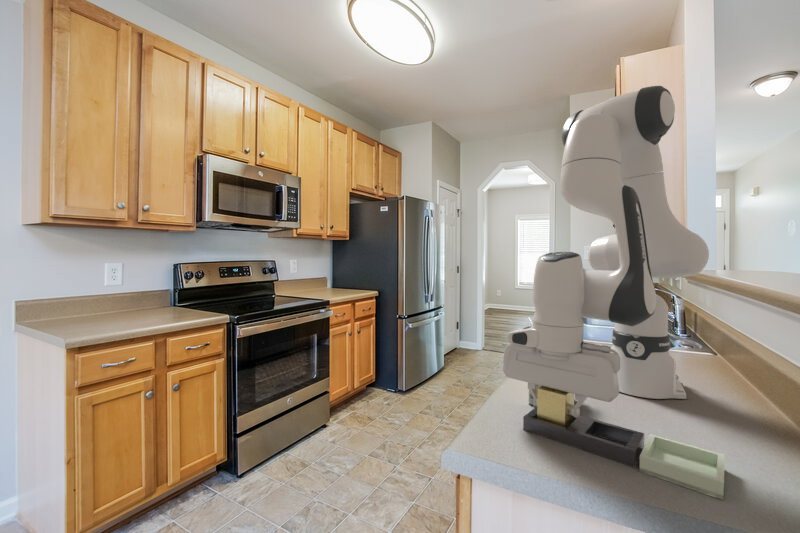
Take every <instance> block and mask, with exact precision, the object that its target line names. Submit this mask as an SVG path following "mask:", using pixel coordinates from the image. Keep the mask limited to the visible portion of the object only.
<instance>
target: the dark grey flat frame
mask: <svg viewBox="0 0 800 533" xmlns="http://www.w3.org/2000/svg"><path fill="white" fill-rule="evenodd" d="M522 425H523V426H522V429H523V430H524V431H527V432H529V433H533V434H535V435H537V436H541V437H544V438H547V439H550V440H553V441H556V442H559V443H561V444H565V445H567V446H571V447H573V448H577V449H579V450H583V451H585V452H589V453H591V454H594V455H598V456H600V457H603V458H606V459H609V460H611V461H615V462H618V463H621V464H624V465H627V466H629V467H633V468H636V466H637V464H638V461H640V455H641V452H642V450H643V448H644V446H645V433H644V432H641V431H636V430H633V429H629V428H626V427H623V426H619V425H615V424H612V423H608V422H605V421H601V420H598V419H594V418H591V417H588V416H587V417H586V416H583V415H580V414H579V417H578V418H574V422H573V423H572V424H571V425H570V426H569V427H568V428H566V427H563V426H559V425H556V424H553V423H550V422H546V421H543V420H540V419H537V407H536V406H535V407H534V408H532V409H531V410H530V411H528V413H526V414H525V415H524V416H523V424H522Z"/></svg>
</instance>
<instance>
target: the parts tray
mask: <svg viewBox="0 0 800 533" xmlns="http://www.w3.org/2000/svg"><path fill="white" fill-rule="evenodd" d="M725 455H726V454H723V453H720V452H717V451H713V450H710V449H706V448H702V447H699V446H695V445H691V444H688V443H685V442H681V441H677V440H673V439H669V438H666V437H663V436H659V435H656V434H652V433H650V434H649V435H648V437H647V440H646V442H645V443H644V448H643V450H642V452H641V455H640V458H639V469H638V470H639V472H640V473H644V474H645V475H649V476H651V477H654V478H657V479H660V480H664V481H666V482H668V483H671V484H675V485H677V486H681V487H684V488H686V489H690V490H693V491H696V492H698V493H701V494H704V495H707V496H709V497H713V498H716V499H719V500H722V501H724V497H725V496H724V494H725V493H724V492H725V491H724V490H725V467H726V466H725V462H726V459H725V458H726V456H725Z"/></svg>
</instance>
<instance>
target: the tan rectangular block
mask: <svg viewBox="0 0 800 533" xmlns="http://www.w3.org/2000/svg"><path fill="white" fill-rule="evenodd" d="M571 404H572V405H575V394H573V393H569V392H565V391H561V390H557V389H553V388H549V387H545V386H541V387H539V388H538V400H537V419H540V420H543V421H546V422H550V423H553V424H556V425H559V426H563V427H566V428H568V427H569V426H570V425H571V424H572V423H573V422H574V417H571V416H568V413H569V411H568V407H569V406H570V405H571Z"/></svg>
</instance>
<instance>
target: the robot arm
mask: <svg viewBox="0 0 800 533" xmlns="http://www.w3.org/2000/svg"><path fill="white" fill-rule="evenodd" d="M675 110H676V108H675V101H674V99H673V96H672V94H671V92H670V91H669V90H668V89H667V88H666V87H665V86H662V85H652V86H651V85H650V86H645V87H642V88H640V89H639V90H636V91H634V90H633V91H632V92H631V91H629V92H627V93H622V94H619V95H616V96H614V97H610V98H608V99H607V100H605V101H602V102H599V103H597V104H594V105H592V106H590V107H588V108H586V109H583V110H582V109H581V110H579V111H576V112H575V113H574V114H572V115H570V116H568V118H567V119H566V121H565V123H564V124H563V126H562V130H561V141H562V144H563V146H564V149H563V155H562V159H561V160H562V161H561V169H560V178H559V179H560V180H559V189H560V192H561V195H562V197H563V198H564V200H565V201H566V202H567V203H569V204H570V205H571V206H572V207H574V208H576V209H579V210H580V211H584V212H585V213H590V214H593V215H597V216H600V217H603V218H606V219H608V220H609V221H611V222H612V223H613V225H614V228H615V231H616V232H615V234H609V235H605V236H603V237H602V236H601V237H598V238H596V239H594V241H593V242H592V243H591V244H590V246H589V248H588V253H587V257H588V262H589V265H590V266H591V268H592V269H585V268H584V267H583V260H582V256H581V254H579V253H577V252H573V251H556V252H549V253H548V252H547V253H544V254H542V255H540V256H539V257H538V258H537V261H536V265H535V270H534V275H533V283H532V284H533V286H532V288H533V289H532V300H533V304H534V313H533V316H532V326H526V327H522V328H517V329H515V330H512V331H510V332H508V333H507V335H506V336H507V338H506V339H507V342H508V344H507V345H506V346H505V349H504V352H503V358H502V359H503V360H502V372H503V374H504V376H505V377H506V378H509V379H513V380H516V381H521V382H525V383H527V389H528V392H529V391H530V393H531V395H532V397H533V405H532V406H533V407H535V408H536V407H537V400H538V390H537V387H538V386H539V385H540V386H545V387H549V388H553V389H557V390H561V391H565V392H569V393H573V394H574V401H576V403H575V404H574V405H572V404H571V405H570V406H569V407H568V411H569V413H568V416H571V417H574V418H578V417H579V415H580V407H581V406H582V405H583V404H584V403H585V401H586V400H587V398H591V399H594V400H599V401H602V402H607V403H611V402H613V401H614V400H616V399H617V398H618V396H619V394H620V393H623V394H626V395H629V396H635V397H640V398H646V399H653V400H655V399H656V400H663V399H664V400H665V399H667V400H668V399H679V400H681V399H682V400H683V399H684V400H685V399H687V398H688V397H687V393H686V391H685V389H684V387H683V385H682V383H681V380H680V378H679V376H678V374H677V361H675V359H674V357H672V356H671V354H670V352H669V351H670V350H671V346H670V345H671V339H670V335H669V332H668V330H669V306H668V303H667V301H665V299H664V298H663V297H662V296H660V295H659V294H657V293H656V289H655V286H654V285H655V284H654V280H653V278H656V279H657V278H659V279H678V278H687V277H694V276H697V275H698V274H700V273H701V272H702V271H703V270H704V269H705V267H706V266H707V265H708V264H707V263H708V261H709V258H710V251H709V247H708V244H707V242H706V241H705V240H704V239H703V238H702V237H701V236H700V235H699V234H697V233H695V232H693V231H691V230H690V229H688V228H687V227H685V226H684V225H683V224H682V223H681V222H680V221H679V220H678V219H677V218H676V216H675V215H674V213H673V212H672V209H671V208H670V205H669V203H668V199H667V198H668V197H667V192H666V186H665V175H664V173H665V172H664V165H663V158H662V154H661V148H660V145H659V143H660V142H661V139H662V137H664V136H665V135H666V134H667V133H668V131H669V130H670V129H671V127H672V125H673V123H674V121H675V120H674V119H675V112H676V111H675ZM583 318H585V319H591V320H599V321H606V322H607V321H608V322H611V323H614V329H612V334H611V339H612V341H611V343H612V346H608V345H604V344H603V345H600V344H599V345H598V344H596V343H590V342H584V332H585V331H584V328H585V327H584V326H585V324H584V319H583Z"/></svg>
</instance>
